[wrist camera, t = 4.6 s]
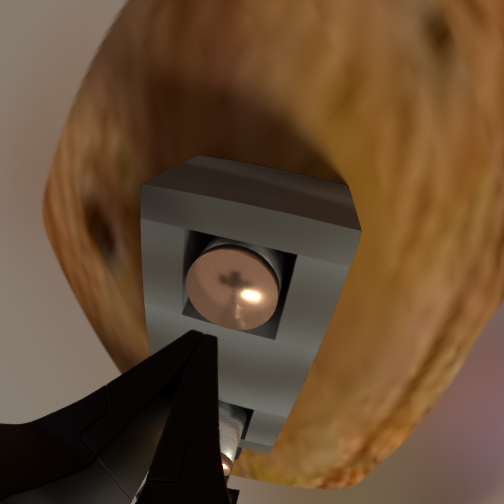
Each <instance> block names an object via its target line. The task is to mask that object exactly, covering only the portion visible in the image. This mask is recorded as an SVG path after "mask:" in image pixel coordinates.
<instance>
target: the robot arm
mask: <svg viewBox="0 0 504 504" xmlns="http://www.w3.org/2000/svg"><path fill="white" fill-rule="evenodd" d="M241 449H242V448H241V447H238V448H237V451H236V454H235V458H234V460H235V459H238V458H239V455H240V452H241ZM233 463H234V461H233ZM232 466H233V464H232ZM231 469H232V467H231ZM148 471H149V473H148ZM147 473H148V475H147V478H146V481H145V484H144V485H143V487H142V488H141V489H140V490H139V492H138V493H137V491H138V489H139V487H140V485H141V484H142V481H143V480H144V478H145V476H146V474H147ZM230 473H231V471H230ZM229 476H230V474H229V475H227V476H225V475H224V470H223V464H222V458H221V447H220V429H219V385H218V337H217V336H214V335H211V334H207V333H206V334H204V333H203V332H200V331H197V330H194V329H192V330H189V331H188V332H186V333H185V334H183V335H182V336H180V337H179V338H177V339H176V340H174V341H173V342H171V343H170V344H168V345H167V346H165V347H164V348H162V349H161V350H159V351H158V352H156V353H154V354H153V355H151V356H150V357H148V358H147V359H145V360H144V361H142V362H141V363H139V364H138V365H136V366H134V367H133V368H131V369H130V370H128V371H127V372H125V373H124V374H122V375H120V376H119V377H117V378H116V379H114V380H112V381H111V382H110V383H108V384H107V386H103V387H101V388H100V389H98V390H96V391H95V392H93V393H91V394H90V395H88V396H86V397H84V398H83V399H81V400H79V401H77V402H75V403H73V404H71V405H69V406H66V407H64V408H62V409H60V410H58V411H56V412H53V413H51V414H49V415H46V416H44V417H42V418H39V419H37V420H34V421H32V422H28V423H23V424H2V423H0V504H131V502H132V500H133V498H134V497H135V495H136V493H137V495H136V499H137V502H136V503H135V504H236V503H237V499H238V495H239V490H236V489H234V490H233V489H229V488H227V482H228V479H229Z"/></svg>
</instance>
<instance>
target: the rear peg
mask: <svg viewBox="0 0 504 504" xmlns="http://www.w3.org/2000/svg"><path fill="white" fill-rule="evenodd" d="M248 411H249V408H245V407H241V406H238V405H234V404H230V403H227V402H223V401H220V400H219V429H220V447H221V458H222V464H223V470H224V475H225V476H227V475H229V474H230V471H231V467H232V464H233V461H234V458H235V454H236V451H237V448H238V445H239V441H240V438H241V435H242V431H243V428H244V424H245V421H246V418H247V414H248Z"/></svg>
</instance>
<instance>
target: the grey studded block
mask: <svg viewBox="0 0 504 504" xmlns="http://www.w3.org/2000/svg"><path fill="white" fill-rule="evenodd" d="M361 232H362V230H361V227H360V223H359V219H358V216H357V212H356V209H355V206H354V202H353V199H352V196H351V192H350V189H349V186H348V185H344V184H340V183H336V182H332V181H328V180H324V179H320V178H316V177H311V176H307V175H302V174H298V173H293V172H289V171H284V170H279V169H275V168H270V167H265V166H260V165H254V164H249V163H244V162H238V161H233V160H227V159H221V158H215V157H209V156H203V155H198V156H196V157H194V158H192V159H190V160H188V161H186V162H184V163H181V164H179V165H177V166H175V167H173V168H171V169H169V170H167V171H165V172H163V173H161V174H159V175H157V176H155V177H153V178H151V179H149V180H147V181H145V182H144V183H142V184H141V254H142V275H143V291H144V305H145V316H146V327H147V336H148V345H149V353H150V356H151V355H153V354H154V353H156V352H158V351H159V350H161V349H162V348H164V347H165V346H167V345H168V344H170V343H171V342H173V341H174V340H176V339H177V338H179V337H180V336H182V335H183V334H185V333H186V332H188V331H189V330H192V329H194V330H197V331H200V332H203V333H204V334H206V333H207V334H211V335H214V336H217V337H218V385H219V400H220V401H223V402H227V403H230V404H234V405H238V406H241V407H245V408H249V411H248V414H247V418H246V421H245V424H244V428H243V431H242V435H241V438H240V441H239V445H238V447H241V448H245V449H249V450H253V451H258V452H262V453H267V454H269V452H270V450H271V448H272V447H273V445H274V443H275V441H276V439H277V437H278V435H279V433H280V431H281V429H282V427H283V425H284V423H285V421H286V419H287V417H288V415H289V413H290V411H291V409H292V407H293V405H294V403H295V401H296V399H297V396H298V394H299V392H300V390H301V388H302V386H303V383H304V381H305V379H306V377H307V375H308V372H309V370H310V368H311V366H312V363H313V361H314V359H315V356H316V354H317V352H318V349H319V347H320V345H321V342H322V340H323V337H324V335H325V332H326V330H327V327H328V325H329V322H330V320H331V317H332V315H333V312H334V310H335V307H336V304H337V302H338V299H339V296H340V294H341V291H342V288H343V285H344V283H345V280H346V277H347V274H348V271H349V269H350V266H351V263H352V260H353V257H354V254H355V251H356V248H357V245H358V242H359V239H360V235H361ZM215 235H216V236H220V237H225V238H229V239H233V240H237V241H242V242H246V243H250V244H255V245H259V246H263V247H267V248H272V249H276V250H280V251H284V252H289V253H293V254H295V255H294V259H293V263H292V267H291V270H290V269H286V270H285V274H284V278H283V282H282V286H281V290H280V294H279V298H278V302H277V306H276V309H275V311H274V313H273V315H272V316H271V317H270V319H269V320H268V321H266V322H265V323H264V324H262V325H260V326H258V327H256V328H253V329H248V330H232V329H227V328H224V327H221V326H218V325H216V324H214V323H212V322H210V321H209V320H207V319H206V318H205V317H203V316H202V315H201V314H200V313H199V312H198V311H197V310H196V308H195V307H194V306H193V304H192V303H191V301H190V299H189V296H188V293H187V289H186V278H187V274H188V271H189V269H190V267H191V266H192V264H193V263H194V262H195V260H196V259H197V258H198V257H199V255H200V254H201V253H202V251H203V250H204V249H205V248H206V246H207V245H208V244H209V242H210V241H211V240H212V239H213V237H214V236H215Z"/></svg>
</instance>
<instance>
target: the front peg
mask: <svg viewBox="0 0 504 504" xmlns="http://www.w3.org/2000/svg"><path fill="white" fill-rule="evenodd" d="M288 257H289V252H284V251H280V250H276V249H272V248H267V247H263V246H259V245H255V244H250V243H246V242H242V241H237V240H233V239H229V238H225V237H220V236H216V235H215V236H214V237H213V239H212V240H211V241H210V242H209V244H208V245H207V246H206V248H205V249H204V250H203V251H202V253H201V254H200V255H199V257H198V258H197V259H196V260H195V262H194V263H193V264H192V266H191V267H190V269H189V271H188V274H187V278H186V289H187V293H188V296H189V299H190V301H191V303H192V304H193V306H194V307H195V308H196V310H197V311H198V312H199V313H200V314H201V315H202V316H203V317H205V318H206V319H207V320H209V321H210V322H212V323H214V324H216V325H218V326H221V327H224V328H227V329H232V330H248V329H253V328H256V327H258V326H260V325H262V324H264V323H265V322H266V321H268V320H269V319H270V317H271V316H272V315H273V313H274V311H275V309H276V306H277V302H278V298H279V294H280V290H281V286H282V282H283V278H284V274H285V270H286V266H287V261H288Z"/></svg>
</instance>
